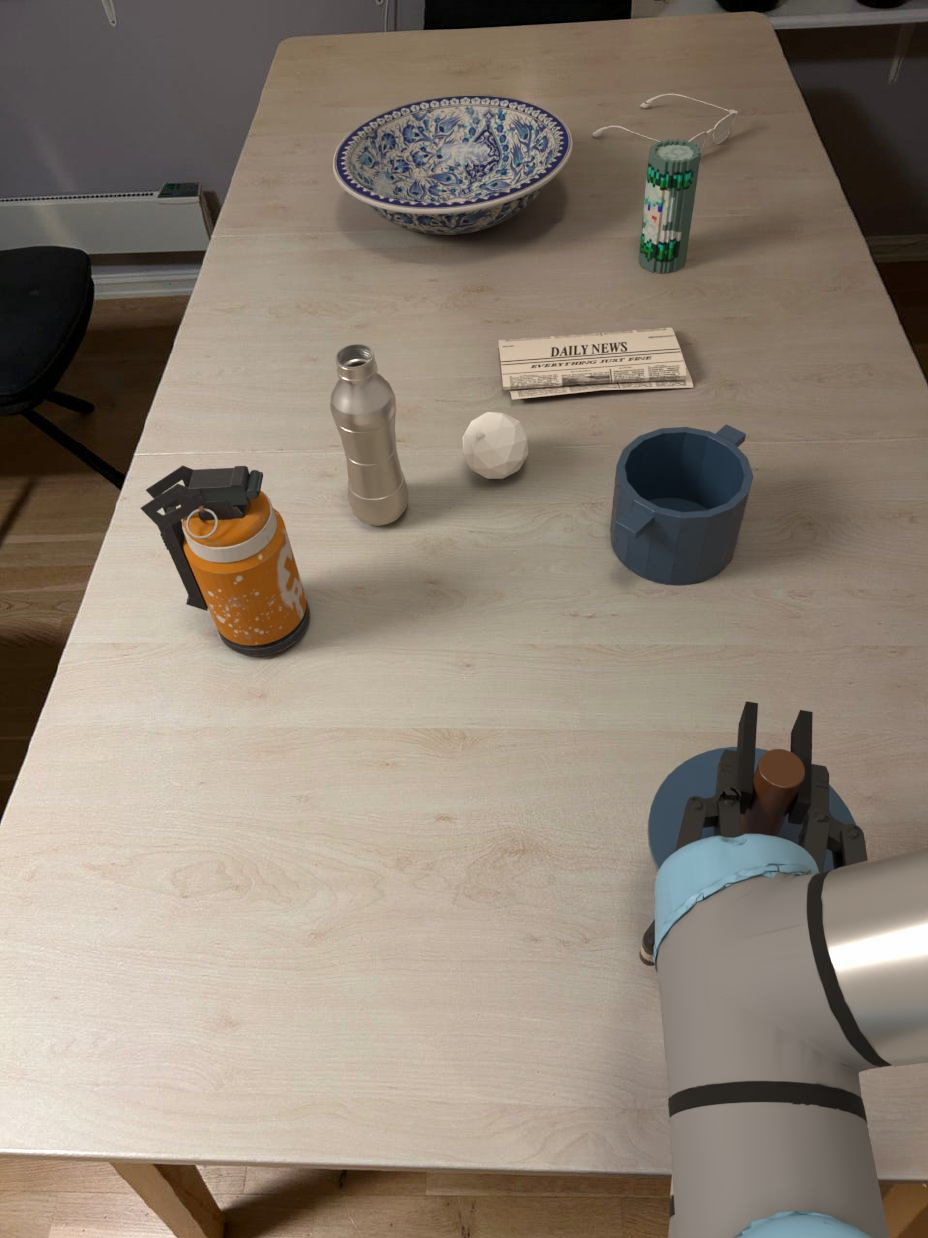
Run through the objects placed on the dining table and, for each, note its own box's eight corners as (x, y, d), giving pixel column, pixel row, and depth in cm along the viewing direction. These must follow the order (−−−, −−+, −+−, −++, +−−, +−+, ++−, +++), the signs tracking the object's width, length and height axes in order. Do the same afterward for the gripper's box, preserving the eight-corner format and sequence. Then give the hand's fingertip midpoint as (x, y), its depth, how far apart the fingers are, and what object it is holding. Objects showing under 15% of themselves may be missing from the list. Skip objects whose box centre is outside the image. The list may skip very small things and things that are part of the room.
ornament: (541, 479, 103) (512, 459, 96) (480, 490, 106) (448, 472, 99) (537, 418, 104) (509, 394, 97) (478, 431, 107) (445, 408, 100)
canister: (306, 658, 89) (259, 509, 74) (192, 663, 90) (121, 515, 74) (315, 587, 95) (272, 434, 79) (207, 592, 95) (144, 440, 80)
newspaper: (504, 407, 111) (503, 389, 109) (498, 355, 119) (498, 337, 118) (695, 393, 110) (698, 375, 109) (676, 342, 119) (678, 323, 117)
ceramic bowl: (331, 173, 150) (321, 108, 142) (540, 144, 152) (541, 78, 144) (354, 290, 128) (343, 220, 120) (597, 254, 131) (601, 183, 123)
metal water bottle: (345, 531, 99) (311, 377, 84) (358, 488, 104) (328, 332, 88) (404, 535, 99) (381, 380, 83) (415, 491, 103) (395, 335, 87)
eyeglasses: (680, 170, 144) (683, 144, 141) (588, 138, 152) (589, 113, 149) (735, 133, 151) (740, 107, 148) (644, 104, 159) (646, 79, 156)
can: (630, 261, 129) (640, 151, 117) (659, 244, 131) (672, 134, 120) (664, 277, 126) (678, 167, 114) (693, 260, 128) (709, 149, 117)
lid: (897, 837, 62) (950, 759, 54) (785, 994, 56) (826, 932, 48) (722, 721, 68) (746, 636, 60) (605, 851, 62) (615, 776, 54)
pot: (773, 520, 97) (793, 450, 90) (670, 621, 90) (683, 555, 82) (673, 466, 103) (684, 397, 96) (569, 558, 95) (572, 490, 88)
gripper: (593, 1094, 50) (646, 728, 64) (902, 1171, 47) (886, 769, 61) (601, 1059, 44) (656, 664, 58) (954, 1143, 41) (924, 706, 55)
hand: (774, 718), depth 60 cm, fingers closed on lid, 3 cm apart
